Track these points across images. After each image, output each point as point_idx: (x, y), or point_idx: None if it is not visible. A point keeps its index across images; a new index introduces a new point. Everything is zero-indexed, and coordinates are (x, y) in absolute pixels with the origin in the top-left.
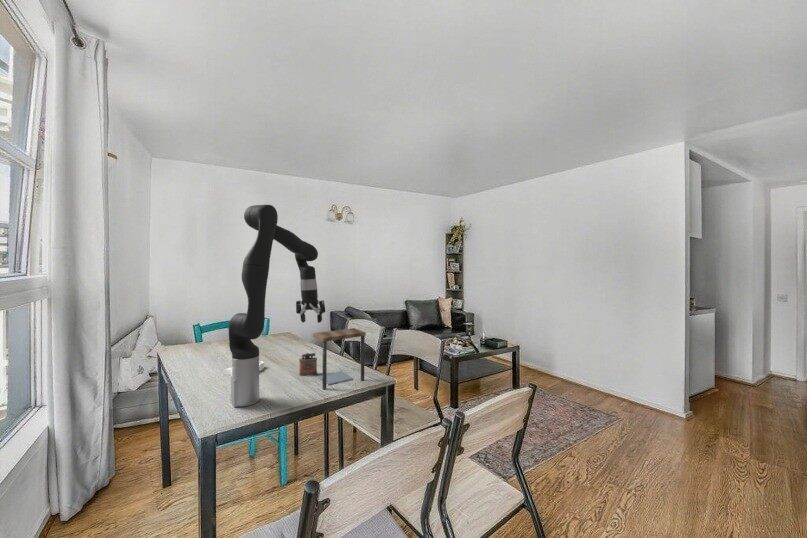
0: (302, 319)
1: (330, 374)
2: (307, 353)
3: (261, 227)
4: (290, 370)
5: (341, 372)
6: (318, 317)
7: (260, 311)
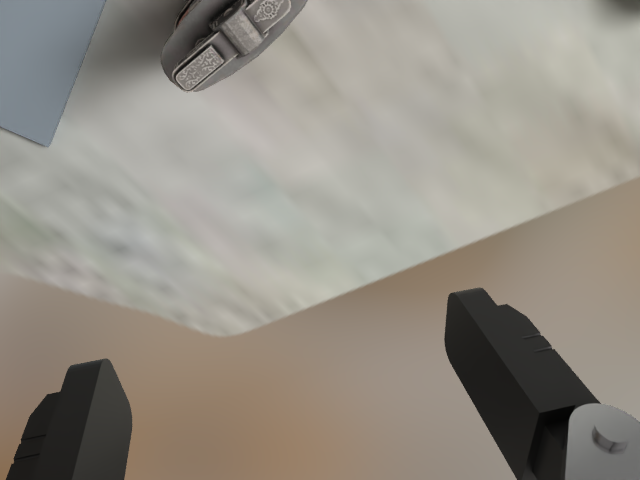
0: (487, 326)
1: (56, 52)
2: (234, 29)
3: None
4: (417, 25)
5: (22, 125)
6: (40, 464)
7: None
